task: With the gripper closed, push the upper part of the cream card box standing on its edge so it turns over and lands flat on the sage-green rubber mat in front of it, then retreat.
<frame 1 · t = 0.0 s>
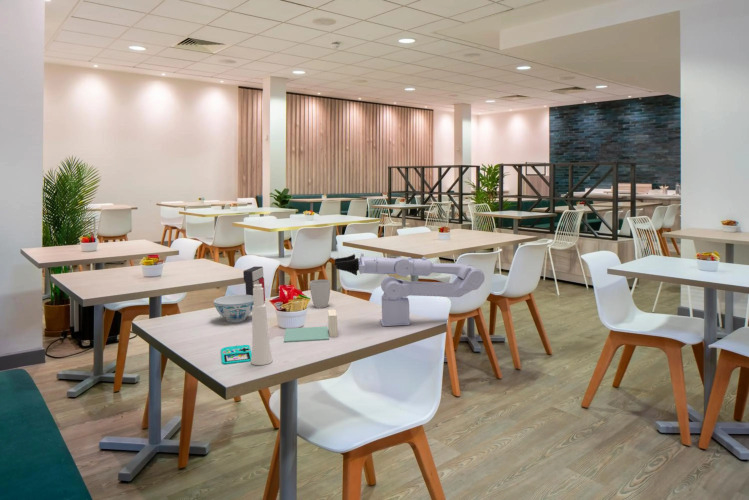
hand: (335, 263, 183), 22 cm above the table, tool horizontal, fingers open, 7 cm apart
cup: (320, 306, 215), on the table
chinaware: (236, 320, 198), on the table
handheld gaming console: (236, 356, 159), on the table
card box: (333, 333, 178), on the table
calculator: (256, 305, 220), on the table
cosmetic bottle: (261, 362, 152), on the table
mat: (306, 334, 177), on the table
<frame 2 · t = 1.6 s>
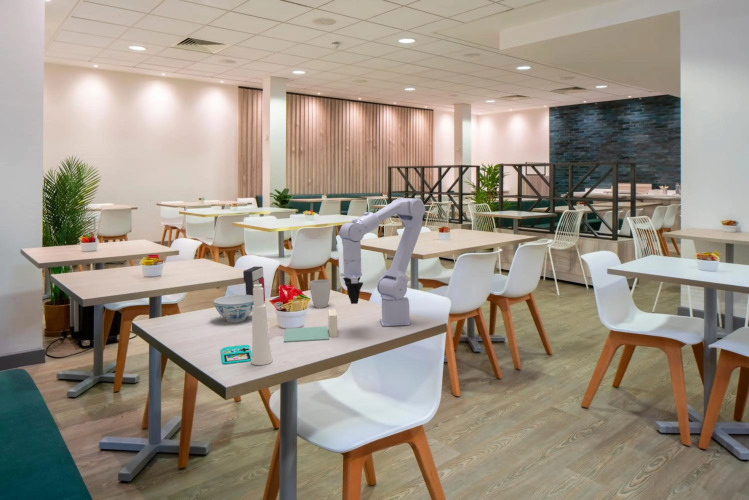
hand: (353, 300, 177), 10 cm above the table, tool pointing down, fingers open, 7 cm apart
nothing on the table moved.
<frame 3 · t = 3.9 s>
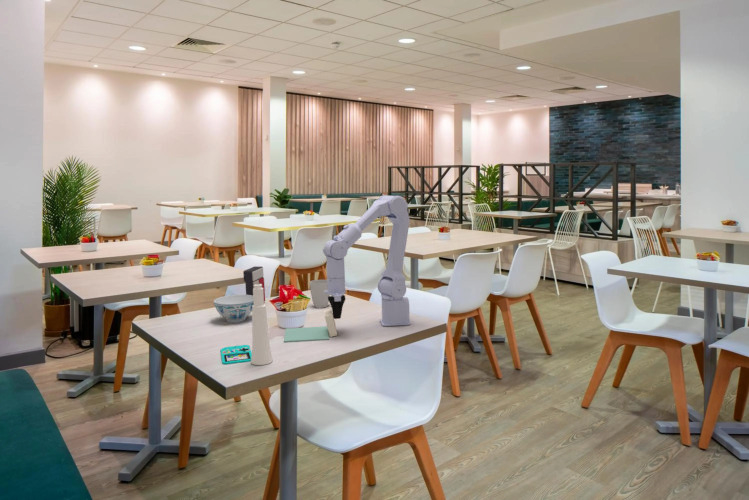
hand: (337, 318, 177), 5 cm above the table, tool pointing down, fingers closed
card box: (332, 332, 178), on the table, tilted 11°, touching gripper
everything else where it was.
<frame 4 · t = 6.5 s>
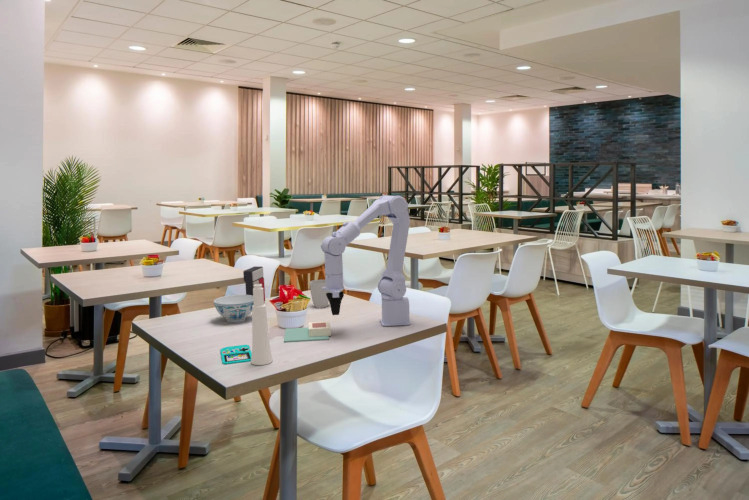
hand: (335, 314, 177), 6 cm above the table, tool pointing down, fingers closed
card box: (330, 328, 178), point 2 cm above the table, tilted 90°, touching mat
everything else where it was.
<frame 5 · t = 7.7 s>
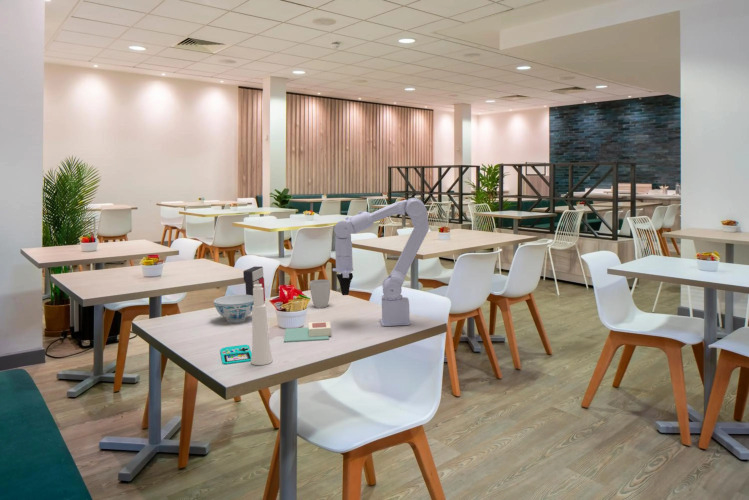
hand: (345, 294, 187), 10 cm above the table, tool pointing down, fingers closed
nothing on the table moved.
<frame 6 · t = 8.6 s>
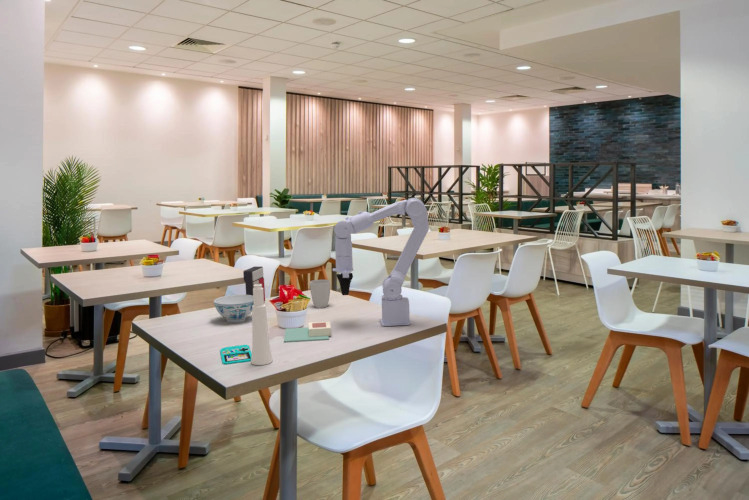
hand: (345, 294, 187), 10 cm above the table, tool pointing down, fingers closed
nothing on the table moved.
at the end: card box tilted 90°; card box inside the target area (6.4 cm from its centre), point 1.6 cm above the table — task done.
